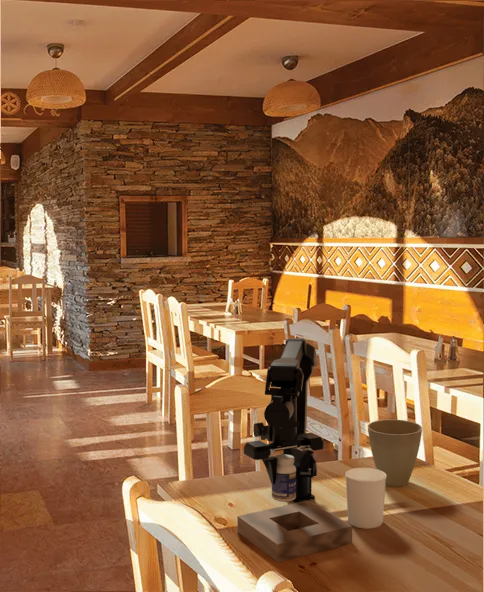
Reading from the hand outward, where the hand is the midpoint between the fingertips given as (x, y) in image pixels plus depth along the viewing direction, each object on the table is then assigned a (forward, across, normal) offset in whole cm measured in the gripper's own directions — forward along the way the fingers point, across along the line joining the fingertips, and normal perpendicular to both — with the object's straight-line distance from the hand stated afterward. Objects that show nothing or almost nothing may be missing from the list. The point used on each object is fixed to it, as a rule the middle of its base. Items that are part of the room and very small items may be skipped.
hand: (284, 481), depth 184 cm
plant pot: (+12, -44, -14) cm, 48 cm away
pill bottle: (+4, 0, 0) cm, 4 cm away
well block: (+12, -1, +4) cm, 13 cm away
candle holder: (+12, -21, +4) cm, 24 cm away
